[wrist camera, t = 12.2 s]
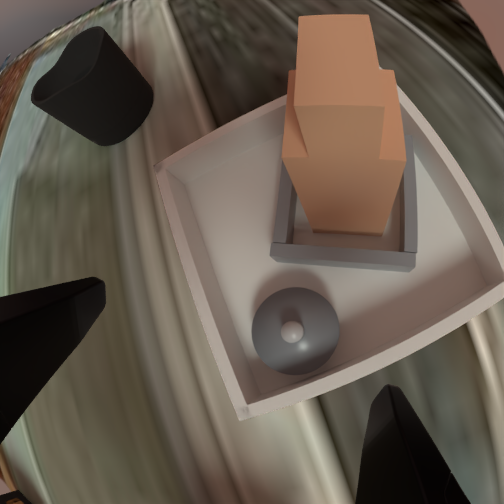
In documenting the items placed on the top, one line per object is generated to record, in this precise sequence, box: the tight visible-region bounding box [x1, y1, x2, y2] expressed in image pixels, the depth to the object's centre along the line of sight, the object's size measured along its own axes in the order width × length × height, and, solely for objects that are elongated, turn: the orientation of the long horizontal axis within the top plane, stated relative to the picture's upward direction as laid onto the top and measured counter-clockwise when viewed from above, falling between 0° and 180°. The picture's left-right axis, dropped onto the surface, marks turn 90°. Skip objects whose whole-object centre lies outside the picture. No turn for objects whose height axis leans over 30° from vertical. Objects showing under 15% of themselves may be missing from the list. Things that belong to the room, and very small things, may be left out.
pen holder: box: [31, 26, 153, 146], centre depth 26 cm, size 9×9×10 cm
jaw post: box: [281, 15, 407, 236], centre depth 14 cm, size 4×4×13 cm
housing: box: [154, 66, 504, 421], centre depth 19 cm, size 18×18×4 cm
